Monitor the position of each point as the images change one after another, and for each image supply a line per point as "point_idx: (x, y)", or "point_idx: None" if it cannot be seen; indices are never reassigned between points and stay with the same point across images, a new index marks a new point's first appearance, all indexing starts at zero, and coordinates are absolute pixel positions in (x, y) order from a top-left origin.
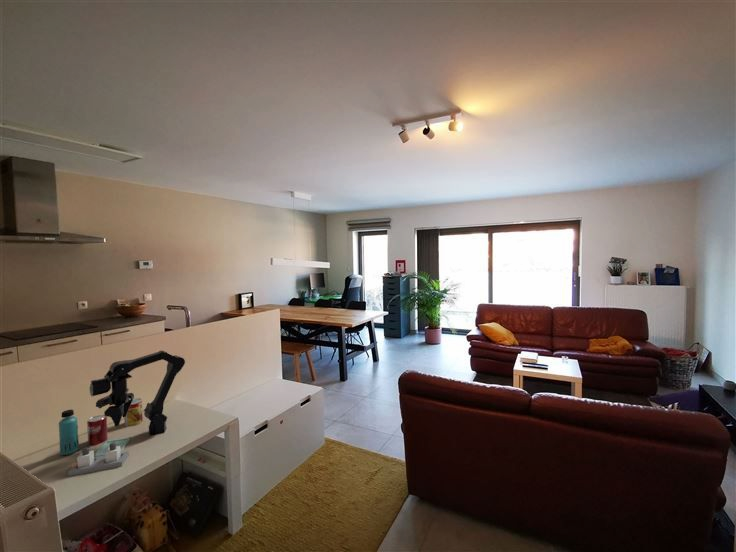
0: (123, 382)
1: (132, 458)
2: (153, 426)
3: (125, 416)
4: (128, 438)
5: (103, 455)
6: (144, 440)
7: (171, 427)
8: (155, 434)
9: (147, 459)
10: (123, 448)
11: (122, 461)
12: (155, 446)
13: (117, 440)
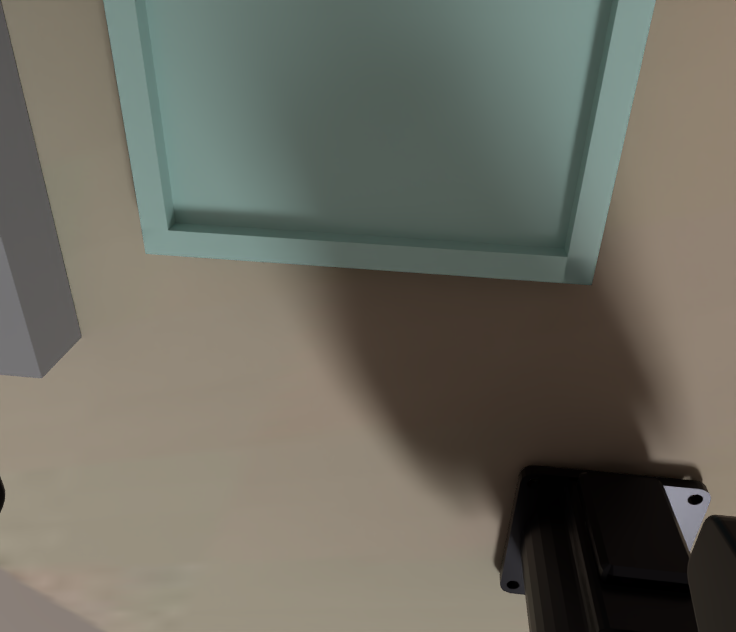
0: None
1: None
2: (548, 612)
3: (691, 590)
4: (546, 264)
5: (111, 14)
6: (444, 427)
7: None
8: (519, 527)
9: None
10: (254, 255)
11: None
12: (242, 530)
13: (597, 90)
